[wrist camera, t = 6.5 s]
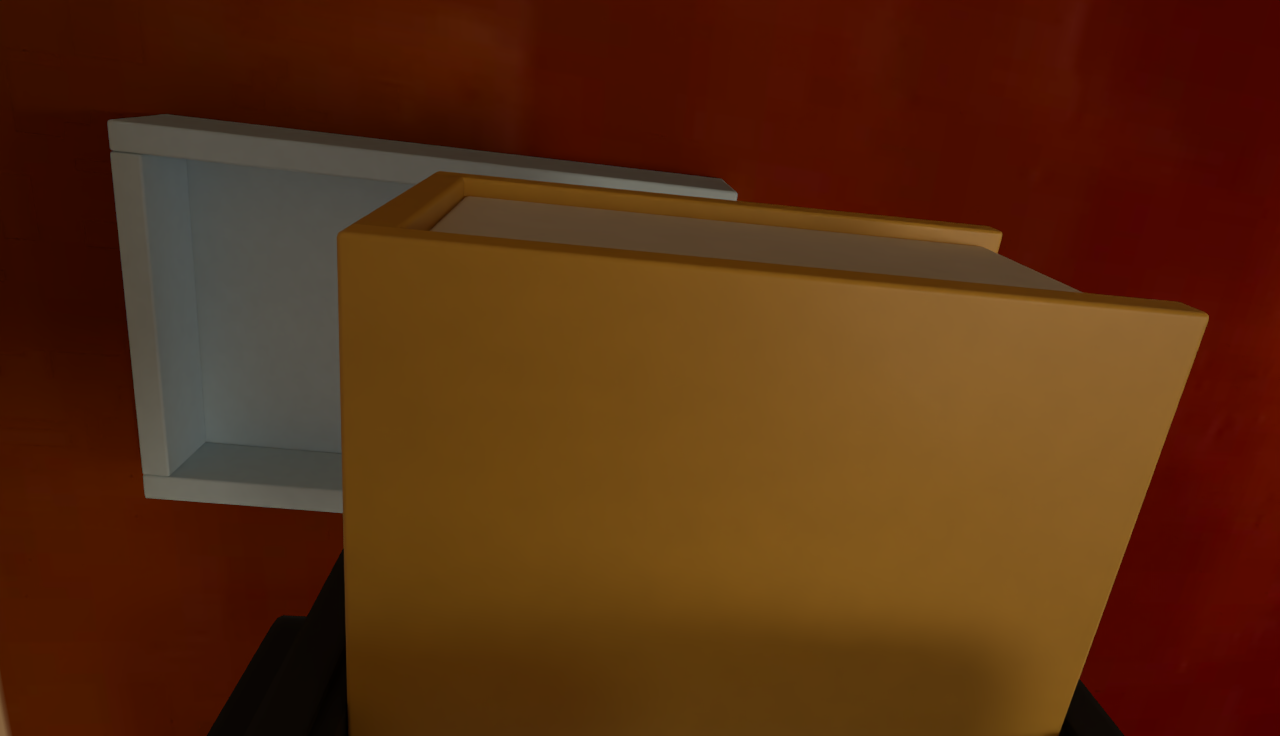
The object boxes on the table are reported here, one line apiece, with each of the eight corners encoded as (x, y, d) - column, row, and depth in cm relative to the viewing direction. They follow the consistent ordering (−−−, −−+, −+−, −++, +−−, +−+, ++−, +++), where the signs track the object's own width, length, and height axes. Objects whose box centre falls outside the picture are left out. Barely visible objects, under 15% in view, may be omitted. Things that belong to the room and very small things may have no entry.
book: (436, 170, 10) (335, 232, 6) (990, 225, 10) (1214, 314, 7) (423, 881, 14) (357, 1183, 10) (820, 894, 14) (898, 1183, 11)
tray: (164, 113, 24) (105, 119, 21) (722, 178, 25) (738, 191, 22) (190, 454, 27) (144, 498, 24) (675, 494, 29) (683, 540, 26)
